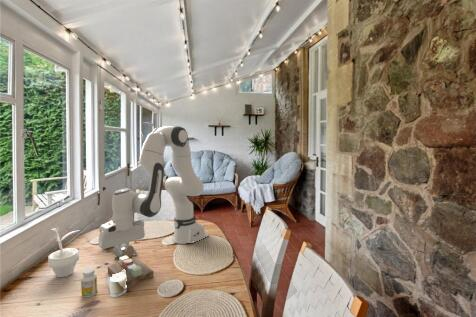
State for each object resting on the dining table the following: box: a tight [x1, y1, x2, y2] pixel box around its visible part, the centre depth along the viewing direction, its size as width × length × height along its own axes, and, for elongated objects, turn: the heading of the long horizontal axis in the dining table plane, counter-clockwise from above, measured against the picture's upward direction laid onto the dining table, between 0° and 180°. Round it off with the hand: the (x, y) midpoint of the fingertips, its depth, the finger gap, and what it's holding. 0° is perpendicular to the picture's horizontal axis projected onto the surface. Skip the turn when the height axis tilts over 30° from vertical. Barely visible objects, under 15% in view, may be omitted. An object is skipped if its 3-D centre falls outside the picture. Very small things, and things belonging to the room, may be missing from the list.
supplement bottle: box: [80, 267, 98, 298], centre depth 101 cm, size 5×5×10 cm
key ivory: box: [118, 256, 130, 266], centre depth 120 cm, size 3×3×3 cm
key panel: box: [107, 256, 154, 289], centre depth 115 cm, size 13×19×3 cm
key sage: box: [131, 265, 142, 278], centre depth 110 cm, size 3×3×3 cm
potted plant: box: [47, 224, 81, 278], centre depth 115 cm, size 13×12×25 cm
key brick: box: [123, 258, 133, 270], centre depth 117 cm, size 3×3×3 cm
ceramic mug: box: [112, 243, 138, 259], centre depth 133 cm, size 11×8×8 cm
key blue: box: [127, 264, 137, 274], centre depth 114 cm, size 3×3×3 cm
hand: (123, 252), depth 119 cm, fingers closed
